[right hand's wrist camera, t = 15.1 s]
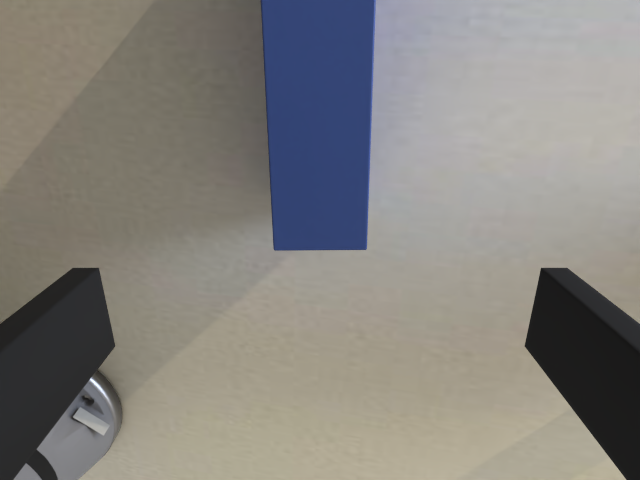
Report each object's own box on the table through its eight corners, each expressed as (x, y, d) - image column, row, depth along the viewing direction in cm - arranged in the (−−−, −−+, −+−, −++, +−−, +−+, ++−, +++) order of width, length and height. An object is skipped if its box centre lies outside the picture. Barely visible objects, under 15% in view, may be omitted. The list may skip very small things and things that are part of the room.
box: (353, 200, 37) (366, 250, 26) (287, 200, 37) (273, 251, 26) (360, -149, 28) (386, -288, 17) (273, -148, 28) (245, -286, 17)
